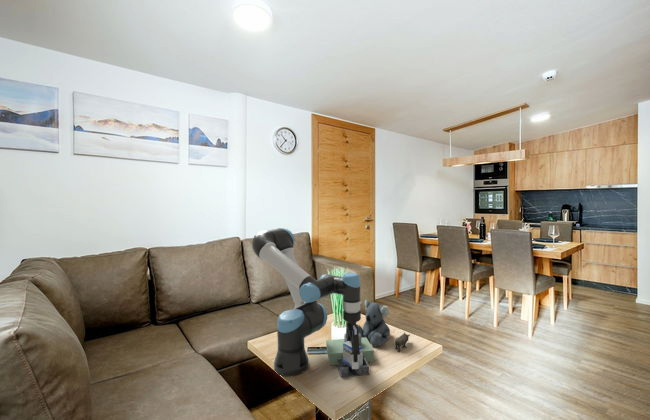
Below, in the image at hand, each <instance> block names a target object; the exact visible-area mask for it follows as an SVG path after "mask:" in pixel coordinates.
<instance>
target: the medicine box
mask: <svg viewBox="0 0 650 420" xmlns="http://www.w3.org/2000/svg"><path fill="white" fill-rule="evenodd" d="M359 350H360V355H358V362H359V368H361V366H363V347H362V346H360V345H359ZM351 353H352V345H351V341H347V342H345V343H343V363H344V364H346V365H348V366H350V367H352V354H351ZM355 370H357V369H355Z"/></svg>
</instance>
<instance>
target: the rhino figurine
mask: <svg viewBox="0 0 650 420" xmlns="http://www.w3.org/2000/svg"><path fill="white" fill-rule="evenodd" d="M410 336H411V334H407V333H406V332H403V334H401V335H400V336H399V337H396V338H394V339H395V340H394V344H395V348H394V349H395V350H396V351H397V352H398V353H401V350H400V349H401V347H403V348H404V349H405V348H406V349H407V346H406V345H407V343H408V342H409V340H410V339H409V337H410Z"/></svg>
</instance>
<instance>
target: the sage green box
mask: <svg viewBox="0 0 650 420" xmlns="http://www.w3.org/2000/svg"><path fill="white" fill-rule="evenodd" d="M343 335H344V336H343V337H344V338H340V339H327V340H326V343H325V344H326V347H325V348H327V351H326V353H327V359H328V362H329V365H332V366H334V365H338V358H343V343H345V342H347V338H346V332H345V333H344V334H343ZM359 345H360V346H362V347H363V356H364V357H365V359H366V361H367V363H368V362H372V363H373V362H374V361H375V350H374V348H373V346H372V345H371V342H370V340H369V339H368V338H366V337H365V338H361V334H360V333H359Z"/></svg>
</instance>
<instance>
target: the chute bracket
mask: <svg viewBox="0 0 650 420" xmlns="http://www.w3.org/2000/svg"><path fill="white" fill-rule="evenodd" d="M336 367H337V370H338V374H339V377H340V378H349V377H360V376H369V375H370V365H369V363H368V362H367V361H366V359H365V357H364V356H363V366H361V368H359V369H357V370H355V369H352V367H350V366H348V365H346V364H344V363H343V358H338V364H336Z"/></svg>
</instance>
